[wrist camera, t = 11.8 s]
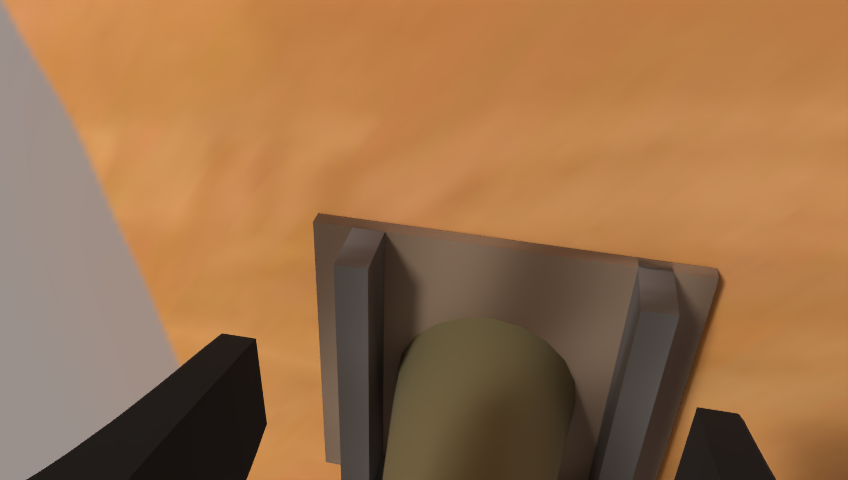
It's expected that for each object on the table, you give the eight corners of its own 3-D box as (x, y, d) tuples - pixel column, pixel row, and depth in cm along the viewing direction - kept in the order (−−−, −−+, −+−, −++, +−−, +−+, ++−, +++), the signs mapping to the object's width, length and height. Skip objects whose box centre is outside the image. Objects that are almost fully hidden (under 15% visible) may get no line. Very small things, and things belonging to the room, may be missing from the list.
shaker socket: (717, 268, 22) (728, 323, 20) (642, 509, 28) (645, 570, 26) (318, 213, 24) (291, 258, 22) (329, 452, 30) (309, 504, 28)
